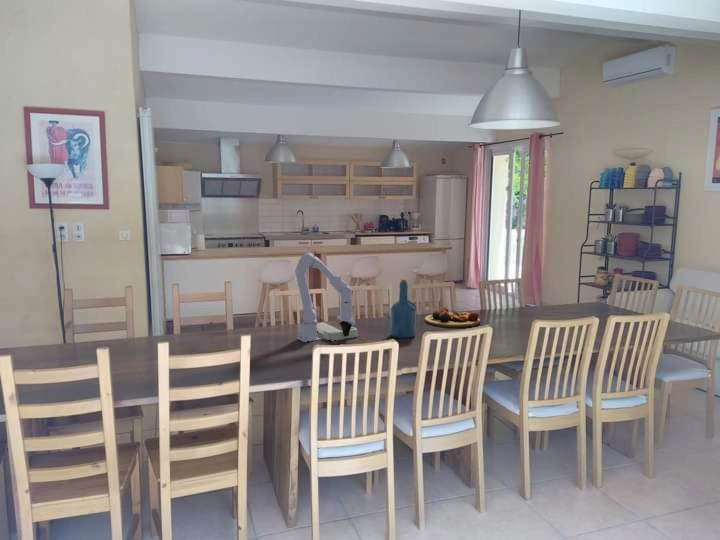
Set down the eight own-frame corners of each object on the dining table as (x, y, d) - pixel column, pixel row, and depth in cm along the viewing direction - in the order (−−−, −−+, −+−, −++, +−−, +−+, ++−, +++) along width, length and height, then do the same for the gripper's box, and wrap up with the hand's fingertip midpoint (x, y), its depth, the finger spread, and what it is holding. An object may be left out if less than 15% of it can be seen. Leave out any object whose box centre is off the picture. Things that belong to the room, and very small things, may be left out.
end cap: (330, 341, 270) (330, 333, 269) (323, 338, 275) (323, 330, 275) (359, 336, 279) (359, 329, 279) (351, 333, 285) (351, 326, 284)
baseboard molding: (328, 340, 274) (349, 337, 280) (328, 334, 274) (349, 332, 279) (304, 327, 301) (323, 324, 307) (304, 322, 300) (323, 319, 306)
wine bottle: (386, 337, 278) (386, 280, 274) (395, 331, 290) (396, 276, 286) (411, 340, 272) (412, 282, 268) (419, 334, 284) (420, 278, 280)
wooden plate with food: (490, 321, 315) (490, 307, 314) (461, 331, 291) (461, 316, 290) (444, 314, 336) (444, 301, 335) (413, 323, 312) (413, 309, 311)
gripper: (360, 311, 267) (360, 337, 269) (345, 306, 279) (345, 331, 281) (349, 313, 264) (349, 339, 265) (333, 307, 275) (333, 333, 277)
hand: (346, 335), depth 273 cm, fingers closed
